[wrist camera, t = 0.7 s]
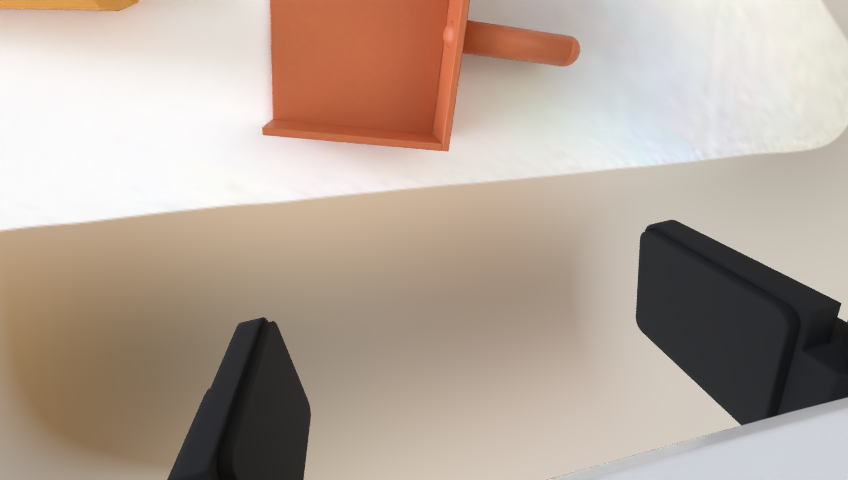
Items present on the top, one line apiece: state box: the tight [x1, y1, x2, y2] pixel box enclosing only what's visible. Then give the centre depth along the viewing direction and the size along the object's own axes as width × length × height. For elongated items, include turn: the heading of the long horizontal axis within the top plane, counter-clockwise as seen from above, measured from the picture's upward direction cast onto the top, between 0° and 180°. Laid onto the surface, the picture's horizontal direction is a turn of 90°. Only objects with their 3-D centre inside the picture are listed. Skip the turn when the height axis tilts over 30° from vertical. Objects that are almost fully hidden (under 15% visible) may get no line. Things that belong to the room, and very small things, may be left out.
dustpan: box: [262, 0, 580, 151], centre depth 28 cm, size 22×15×4 cm
